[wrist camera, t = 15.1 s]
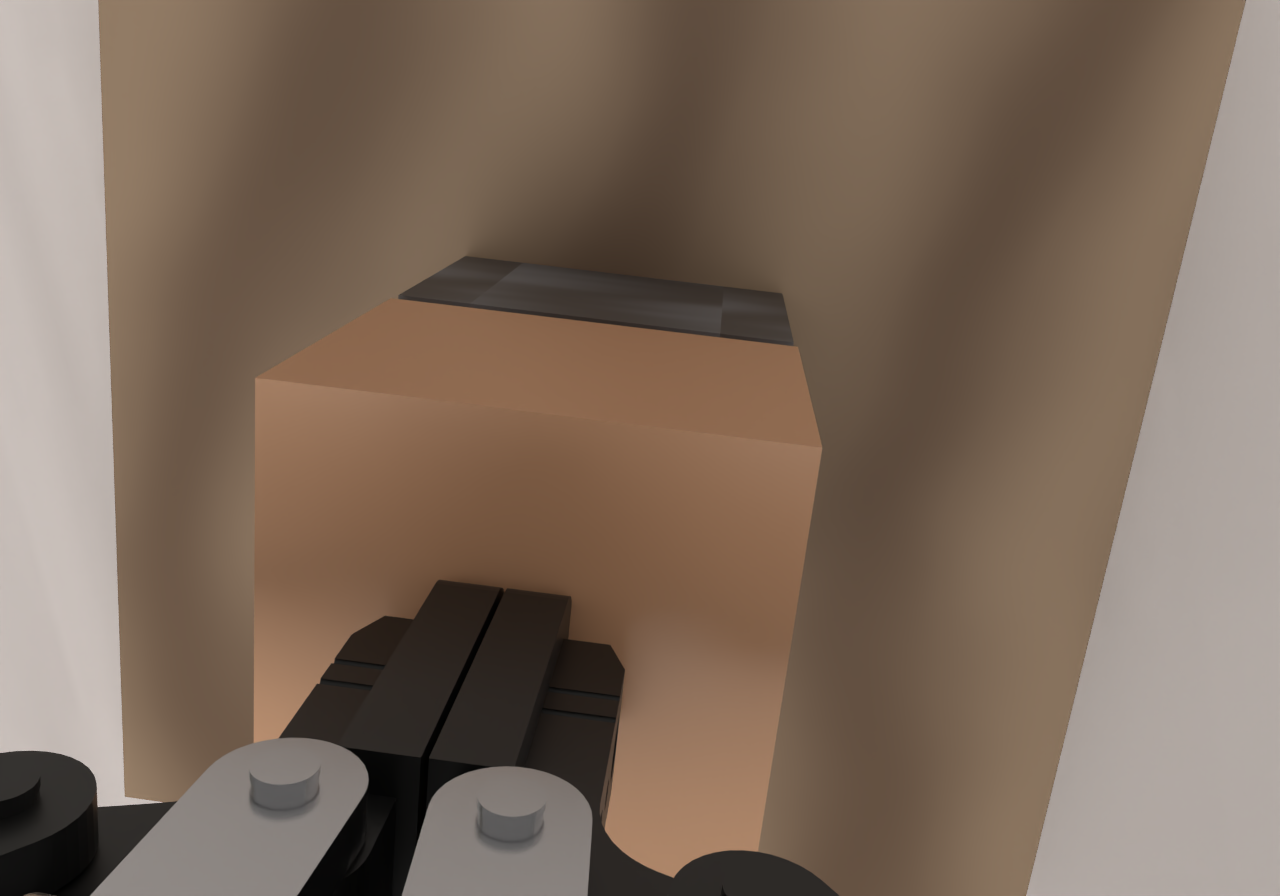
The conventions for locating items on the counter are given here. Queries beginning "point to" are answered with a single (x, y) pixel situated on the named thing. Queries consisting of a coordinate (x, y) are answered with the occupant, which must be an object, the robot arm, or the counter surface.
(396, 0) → the socket base
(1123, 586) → the counter surface
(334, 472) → the peach tan cube
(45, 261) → the counter surface
